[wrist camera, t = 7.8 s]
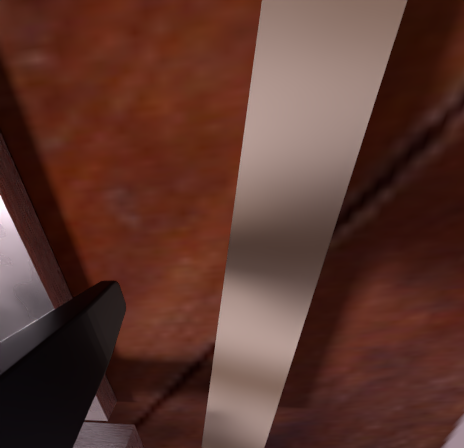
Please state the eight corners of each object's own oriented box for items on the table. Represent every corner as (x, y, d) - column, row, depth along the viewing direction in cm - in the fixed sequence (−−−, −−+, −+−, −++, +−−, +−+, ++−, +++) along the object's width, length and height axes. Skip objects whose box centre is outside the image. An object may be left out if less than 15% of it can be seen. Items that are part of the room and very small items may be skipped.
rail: (262, 399, 18) (261, 458, 15) (211, 390, 18) (201, 447, 15) (448, -283, 6) (573, -520, 4) (308, -295, 7) (335, -537, 4)
